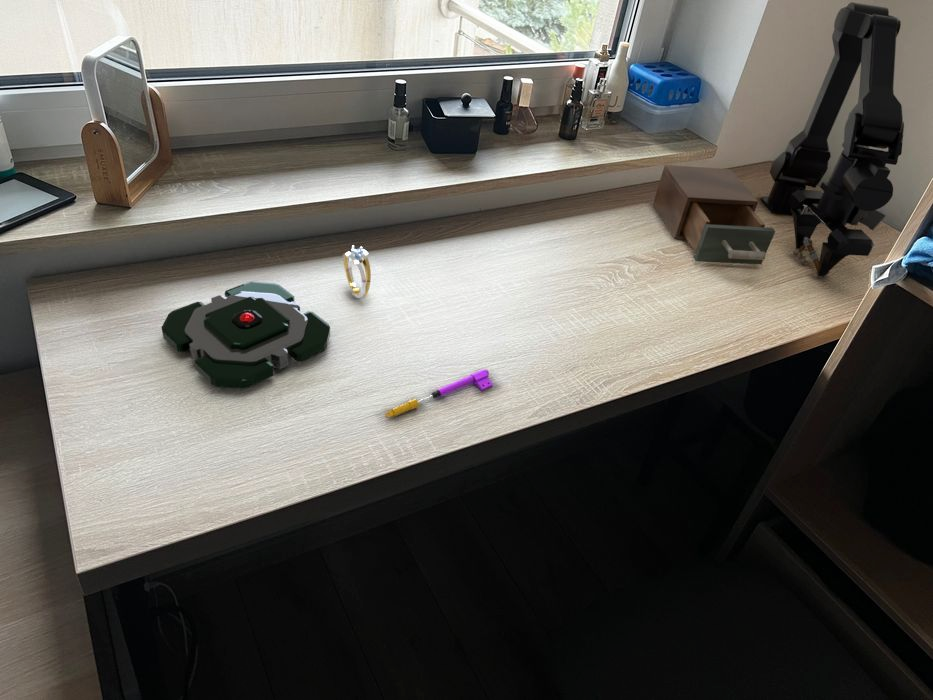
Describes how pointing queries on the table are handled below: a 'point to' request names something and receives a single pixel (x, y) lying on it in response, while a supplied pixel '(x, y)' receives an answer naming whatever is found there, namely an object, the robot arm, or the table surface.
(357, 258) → the ring
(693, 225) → the drawer
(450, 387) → the purple and gold rod
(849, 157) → the robot arm
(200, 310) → the clover-shaped pad
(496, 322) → the table surface
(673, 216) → the cabinet
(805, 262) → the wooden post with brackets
